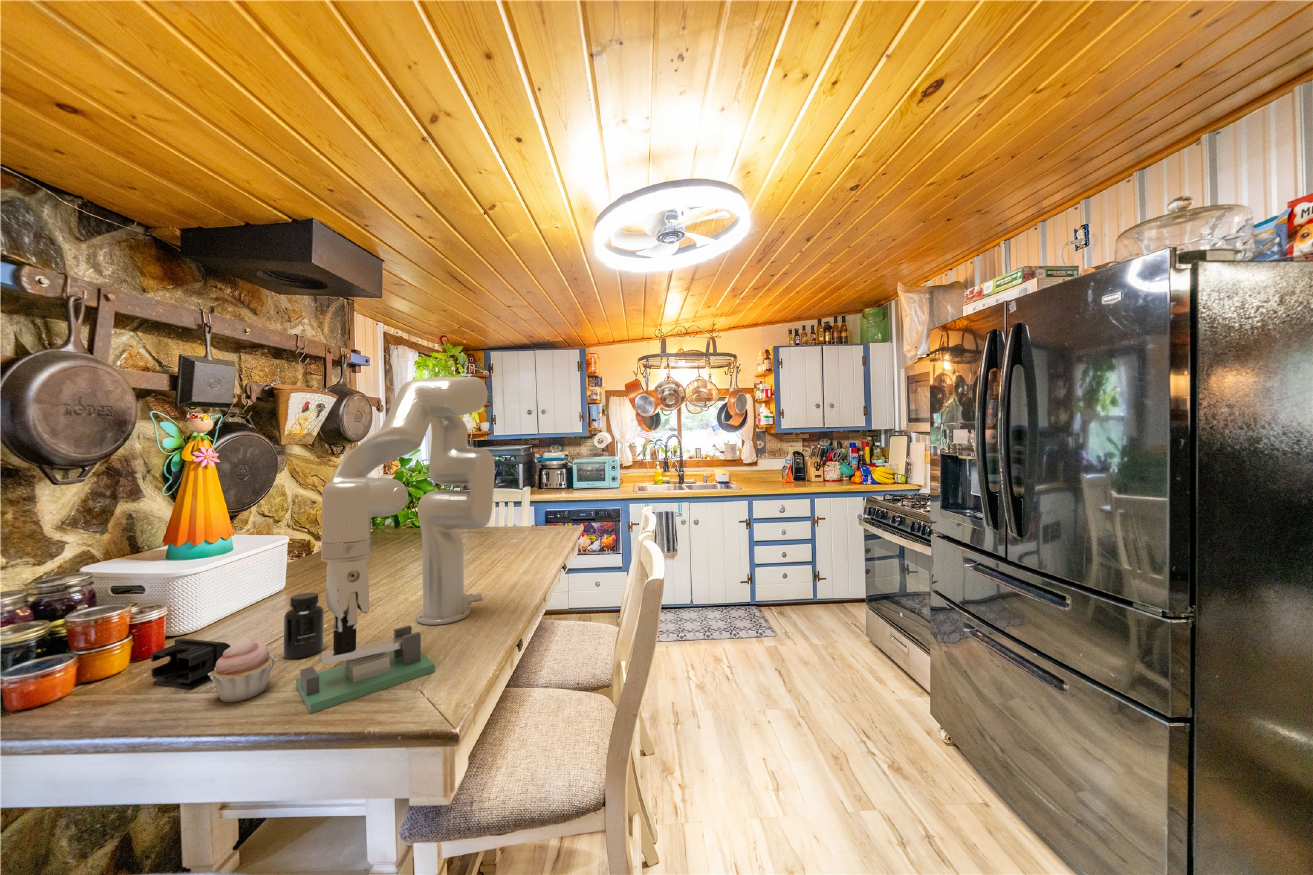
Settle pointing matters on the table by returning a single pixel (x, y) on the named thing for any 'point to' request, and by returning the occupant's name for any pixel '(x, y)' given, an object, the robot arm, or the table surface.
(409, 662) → the board
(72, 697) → the table surface
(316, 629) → the supplement bottle
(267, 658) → the cupcake
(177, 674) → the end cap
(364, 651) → the grey long bar
